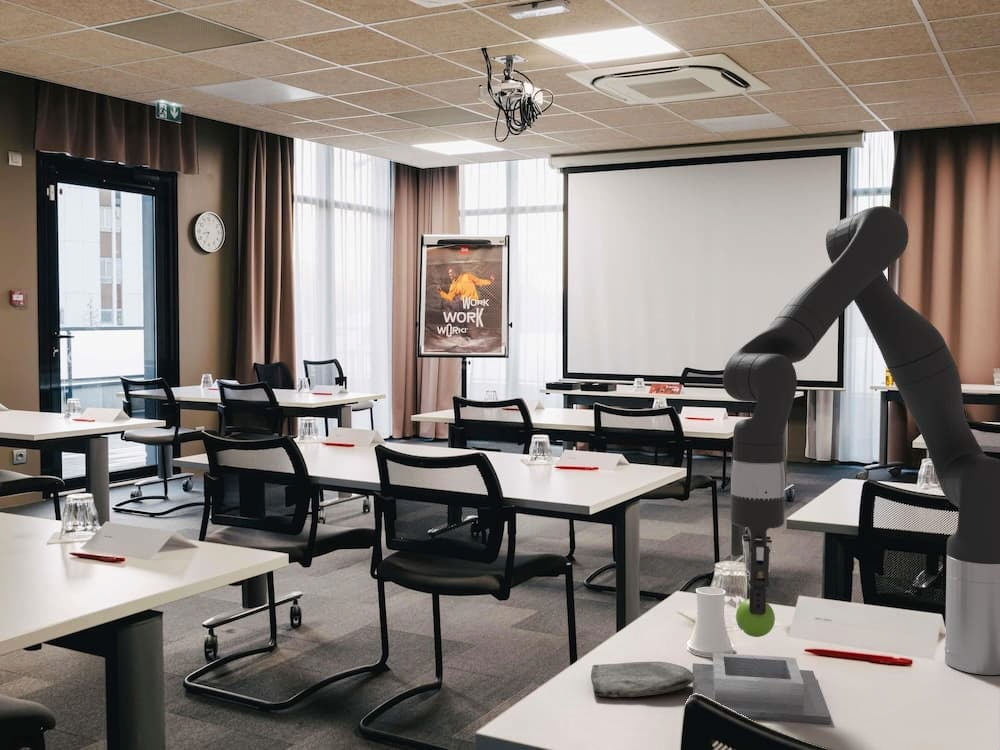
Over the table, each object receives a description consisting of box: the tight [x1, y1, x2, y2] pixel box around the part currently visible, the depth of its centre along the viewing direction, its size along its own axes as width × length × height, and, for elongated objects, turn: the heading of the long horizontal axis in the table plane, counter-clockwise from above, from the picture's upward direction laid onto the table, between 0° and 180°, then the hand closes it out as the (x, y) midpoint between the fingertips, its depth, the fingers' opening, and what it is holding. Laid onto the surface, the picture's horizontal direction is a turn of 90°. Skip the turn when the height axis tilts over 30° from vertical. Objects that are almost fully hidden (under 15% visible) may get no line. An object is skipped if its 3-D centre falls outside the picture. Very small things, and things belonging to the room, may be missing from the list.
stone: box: [590, 661, 694, 699], centre depth 141 cm, size 11×4×15 cm
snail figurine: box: [735, 572, 776, 638], centre depth 138 cm, size 5×6×12 cm
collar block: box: [692, 653, 831, 725], centre depth 139 cm, size 18×18×4 cm
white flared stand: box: [686, 586, 735, 658], centre depth 158 cm, size 8×8×10 cm
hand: (755, 607), depth 138 cm, fingers closed on snail figurine, 5 cm apart
